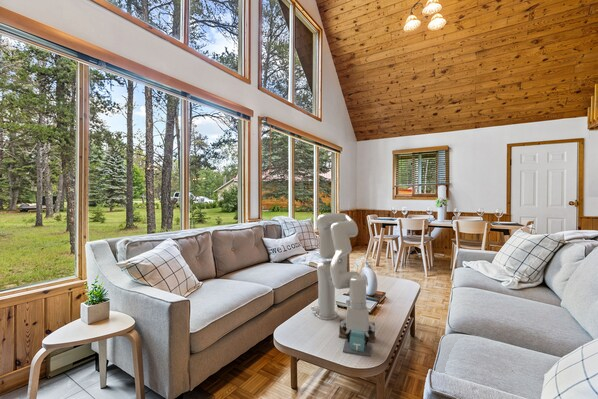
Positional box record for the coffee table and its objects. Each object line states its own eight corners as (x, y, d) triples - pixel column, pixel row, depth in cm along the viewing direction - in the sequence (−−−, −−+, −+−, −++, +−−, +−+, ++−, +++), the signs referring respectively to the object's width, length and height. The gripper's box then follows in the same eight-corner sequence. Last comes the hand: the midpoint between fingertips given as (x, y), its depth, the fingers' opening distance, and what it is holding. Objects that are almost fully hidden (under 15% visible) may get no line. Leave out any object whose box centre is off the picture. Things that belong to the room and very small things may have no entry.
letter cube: (350, 349, 125) (350, 336, 125) (351, 342, 131) (351, 330, 131) (363, 351, 123) (363, 338, 123) (364, 344, 129) (364, 331, 129)
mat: (342, 352, 124) (342, 350, 124) (345, 340, 134) (345, 339, 134) (370, 356, 121) (370, 355, 121) (371, 344, 130) (371, 343, 130)
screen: (338, 337, 137) (338, 321, 136) (340, 331, 142) (340, 316, 142) (374, 342, 132) (374, 326, 132) (374, 336, 138) (375, 320, 137)
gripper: (337, 305, 126) (337, 343, 126) (377, 309, 121) (377, 349, 121) (339, 298, 133) (339, 335, 133) (377, 303, 128) (377, 341, 128)
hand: (357, 342), depth 127 cm, fingers open, 7 cm apart
